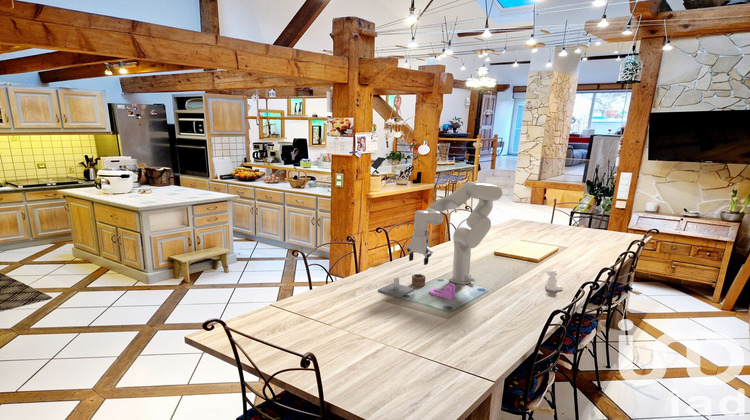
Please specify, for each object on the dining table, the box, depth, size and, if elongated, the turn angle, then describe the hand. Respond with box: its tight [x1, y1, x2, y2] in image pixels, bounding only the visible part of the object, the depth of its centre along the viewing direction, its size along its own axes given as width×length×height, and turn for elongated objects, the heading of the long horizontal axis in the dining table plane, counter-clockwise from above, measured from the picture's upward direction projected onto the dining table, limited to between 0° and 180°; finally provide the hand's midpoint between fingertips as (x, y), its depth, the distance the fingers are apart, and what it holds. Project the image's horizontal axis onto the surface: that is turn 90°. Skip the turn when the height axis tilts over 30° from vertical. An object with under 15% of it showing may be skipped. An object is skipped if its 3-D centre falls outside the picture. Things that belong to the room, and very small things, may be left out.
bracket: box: [429, 282, 456, 300], centre depth 216 cm, size 13×6×7 cm, turn 55°
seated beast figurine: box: [544, 268, 564, 292], centre depth 227 cm, size 10×9×12 cm
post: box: [377, 277, 415, 299], centre depth 220 cm, size 14×14×7 cm
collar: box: [411, 273, 426, 288], centre depth 230 cm, size 7×7×5 cm
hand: (418, 262), depth 228 cm, fingers open, 9 cm apart
